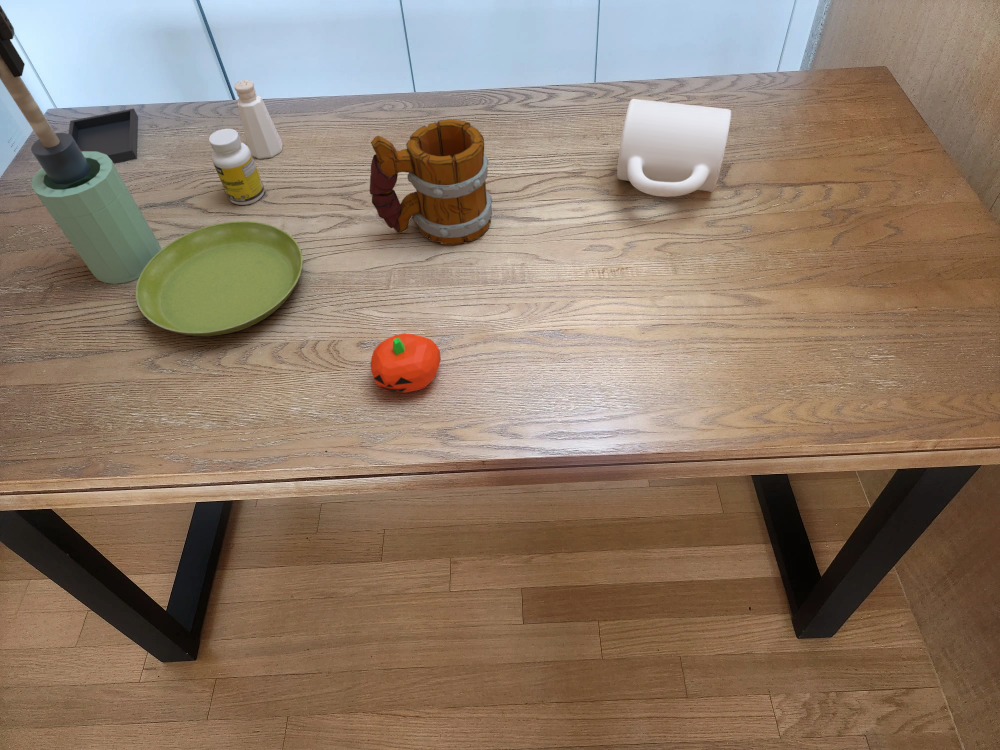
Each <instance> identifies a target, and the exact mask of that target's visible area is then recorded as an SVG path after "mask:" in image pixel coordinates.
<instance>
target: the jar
mask: <svg viewBox="0 0 1000 750" xmlns="http://www.w3.org/2000/svg"><path fill="white" fill-rule="evenodd" d="M81 152H82V153H83V155H84V157H85V158H86V160H87V162H88V163H89V165H90V172H89V173H88V174H87V175H86V176H85V177H84V178H82V179H81V180H79V181H76V182H74V183H70V184H56V183H53V182H52V181H51V180H50V178H49V177H48V175H47V174H46V172H45V171H44V169H43V168H42V166H41V167H40V168H39V169H37V172H35V174H34V175H33V176H32V177H31V182H30V187H31V188H32V190H33V192H34V194H35V195H36V196H37V197H38V199H39V200H40V201H41V203H42V205H43V206H44V207H45V208H46V210H47V211H48V213H49V214H50V216H51V218H52V219H53V221H55V223H56V224H57V226H58V227H59V228H60V230H61V231H62V233H63V234H64V236H65V237H66V238H67V240H68V241H69V243H70V245H71V246H72V247H73V248H74V250H75V252H77V254H78V255H79V257H80V258H81V259H82V261H83V262H84V264H85V266H86V267H87V269H89V271H90V272H91V274H92V275H93V277H94V278H95V279H96V280H97V281H100V282H103V283H105V284H110V285H112V284H113V285H114V284H115V285H118V284H125V283H129V282H133V281H135V280H138V279H139V277H140V274H141V272H142V271H143V269H144V268H145V266H146V265H147V264H148V262H149V261H150V260H151V259H152V258H153V257H154V256H155V255H156V254H157V253H158V252H159V251H160V250H162V249H163V248H162V247H161V245H160V242H159V240H158V239H157V236H156V235H155V233H154V231H153V230H152V228H151V226H150V224H149V223H148V221H147V219H146V217H145V215H144V214H143V212H142V211H141V209H140V207H139V205H138V203H137V202H136V200H135V198H134V197H133V195H132V192H131V191H130V189H129V188H128V186H127V184H126V182H125V181H124V178H123V177H122V176H121V174H120V172H119V170H118V169H117V167H116V165H115V164H114V163H113V162H112V160H111V159H110V158H109V157H108V156H107V155H106V154H103V153H100V152H96V151H81Z"/></svg>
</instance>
